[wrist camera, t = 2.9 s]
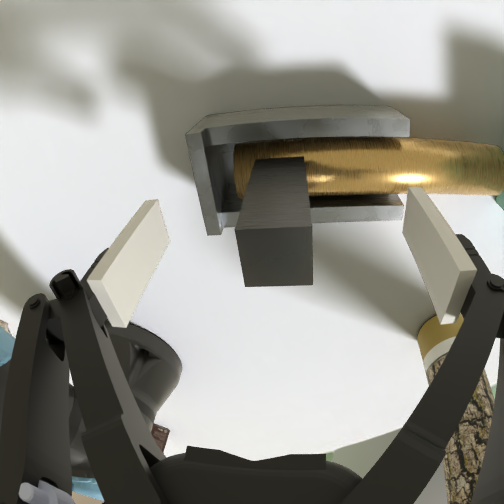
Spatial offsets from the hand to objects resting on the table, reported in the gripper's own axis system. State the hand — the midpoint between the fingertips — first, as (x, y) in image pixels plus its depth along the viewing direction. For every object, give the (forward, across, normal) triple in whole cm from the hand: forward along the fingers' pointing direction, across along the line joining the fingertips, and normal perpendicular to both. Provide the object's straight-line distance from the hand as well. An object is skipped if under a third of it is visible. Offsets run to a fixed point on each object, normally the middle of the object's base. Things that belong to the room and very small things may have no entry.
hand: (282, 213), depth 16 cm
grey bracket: (+10, +1, 0) cm, 10 cm away
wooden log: (+10, +18, -22) cm, 30 cm away
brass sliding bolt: (+9, +7, 0) cm, 11 cm away
